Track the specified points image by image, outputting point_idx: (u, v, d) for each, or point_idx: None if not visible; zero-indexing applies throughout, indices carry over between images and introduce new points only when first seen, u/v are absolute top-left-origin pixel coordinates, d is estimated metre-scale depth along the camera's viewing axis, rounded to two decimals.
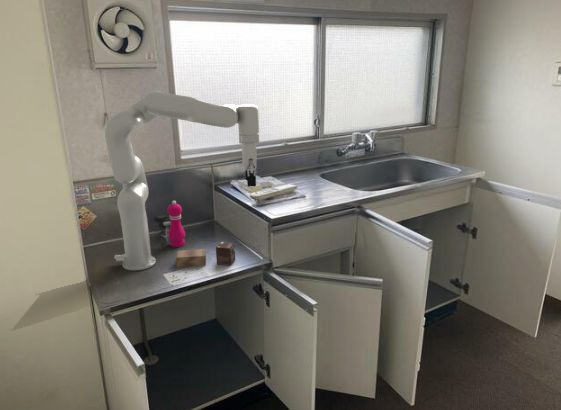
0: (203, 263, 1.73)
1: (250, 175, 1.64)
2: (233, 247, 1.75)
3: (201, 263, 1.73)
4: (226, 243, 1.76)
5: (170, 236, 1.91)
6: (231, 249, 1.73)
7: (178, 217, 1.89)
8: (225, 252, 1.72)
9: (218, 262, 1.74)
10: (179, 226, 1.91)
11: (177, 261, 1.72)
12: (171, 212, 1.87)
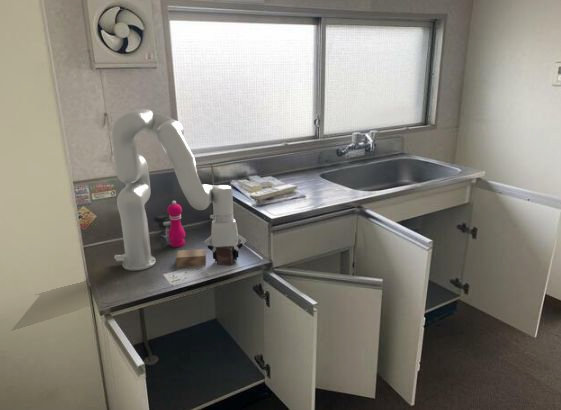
0: (203, 263, 1.73)
1: (239, 248, 1.75)
2: (233, 247, 1.75)
3: (201, 263, 1.73)
4: None
5: (170, 236, 1.91)
6: (231, 249, 1.73)
7: (178, 217, 1.89)
8: (225, 252, 1.72)
9: (218, 262, 1.73)
10: (179, 226, 1.91)
11: (177, 261, 1.72)
12: (171, 212, 1.87)
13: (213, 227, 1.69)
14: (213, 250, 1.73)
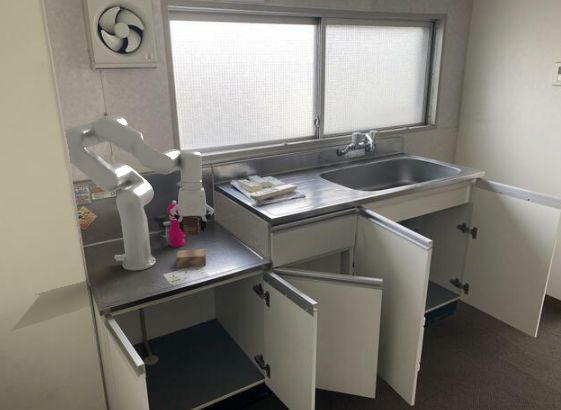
0: (203, 263, 1.73)
1: (207, 219, 1.67)
2: (201, 217, 1.67)
3: (201, 263, 1.73)
4: None
5: (170, 236, 1.91)
6: (198, 219, 1.65)
7: None
8: (192, 222, 1.64)
9: (184, 232, 1.66)
10: None
11: (177, 261, 1.72)
12: None
13: (180, 195, 1.61)
14: (179, 219, 1.65)
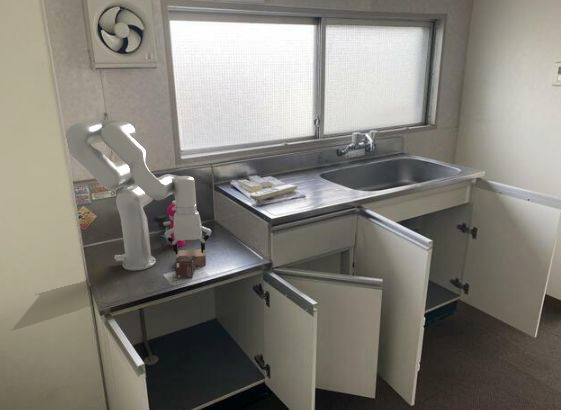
0: (203, 263, 1.73)
1: (205, 240, 1.68)
2: (192, 267, 1.63)
3: (201, 263, 1.73)
4: (183, 266, 1.61)
5: None
6: (192, 272, 1.64)
7: None
8: None
9: None
10: None
11: None
12: (171, 212, 1.87)
13: (175, 220, 1.63)
14: (173, 242, 1.66)
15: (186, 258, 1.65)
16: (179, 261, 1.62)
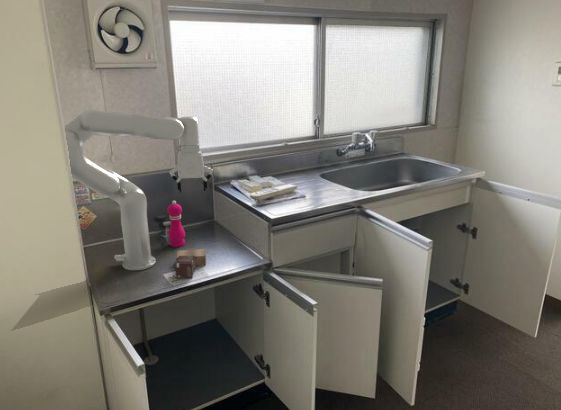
0: (203, 263, 1.73)
1: (207, 179, 1.78)
2: (192, 267, 1.63)
3: (201, 263, 1.73)
4: (183, 266, 1.61)
5: (170, 236, 1.91)
6: (192, 272, 1.64)
7: (178, 217, 1.89)
8: None
9: None
10: (179, 226, 1.91)
11: None
12: (171, 212, 1.87)
13: (179, 158, 1.73)
14: (177, 180, 1.76)
15: (186, 258, 1.65)
16: (179, 261, 1.62)
